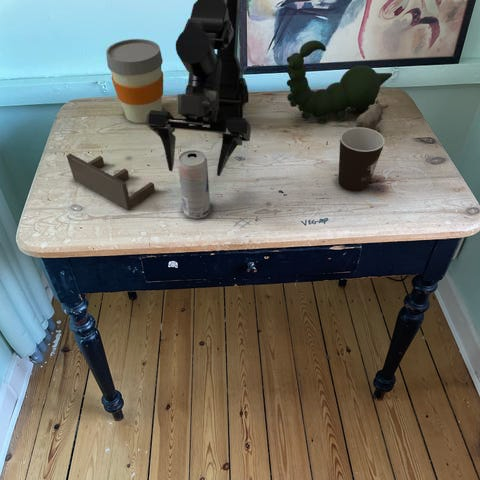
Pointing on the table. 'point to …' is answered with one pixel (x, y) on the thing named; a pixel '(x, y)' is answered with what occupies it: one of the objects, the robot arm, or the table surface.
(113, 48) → the reusable coffee cup
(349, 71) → the toy figurine
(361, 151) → the coffee mug
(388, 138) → the table surface
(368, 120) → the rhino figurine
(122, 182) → the brown legged board
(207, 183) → the energy drink
